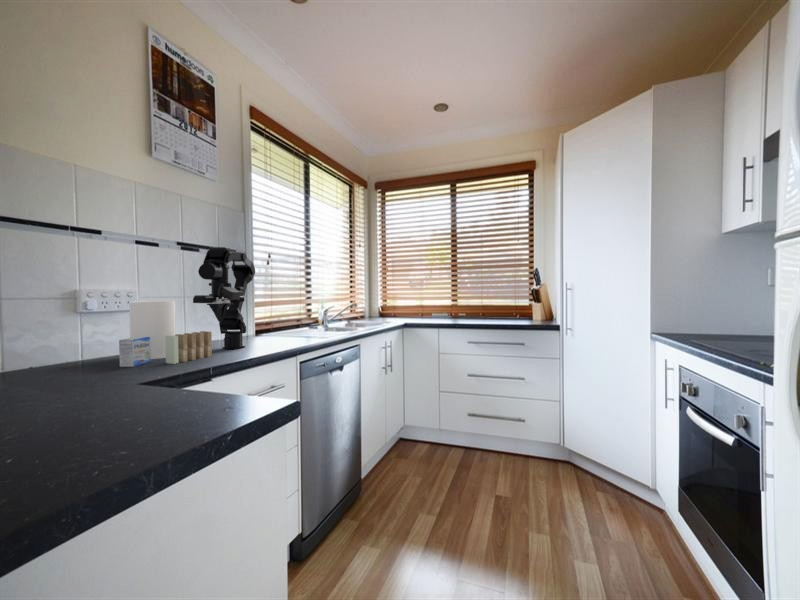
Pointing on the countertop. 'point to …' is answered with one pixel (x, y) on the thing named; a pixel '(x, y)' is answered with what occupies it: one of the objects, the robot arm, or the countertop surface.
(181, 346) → the tile
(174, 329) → the canister
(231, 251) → the robot arm
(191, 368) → the countertop surface
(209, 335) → the tile
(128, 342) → the medicine box
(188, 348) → the tile
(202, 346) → the tile
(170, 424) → the countertop surface
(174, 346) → the tile
